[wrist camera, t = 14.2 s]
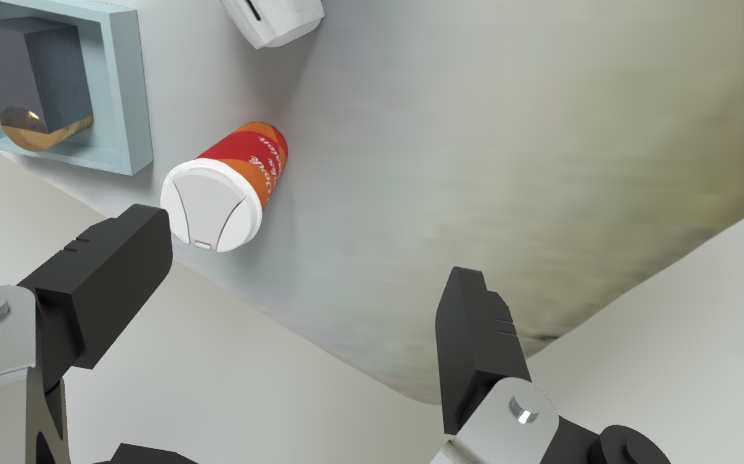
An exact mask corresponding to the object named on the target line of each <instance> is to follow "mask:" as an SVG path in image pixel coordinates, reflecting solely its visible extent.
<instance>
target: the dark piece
mask: <svg viewBox="0 0 744 464" xmlns="http://www.w3.org/2000/svg"><path fill="white" fill-rule="evenodd" d="M93 121H94V114H93V109H92V104H91V98H90V93H89V87H88V82H87V77H86V71H85V66H84V60H83V55H82V49H81V44H80V39H79V33H78V28H77V26H76V25H71V24H67V23H62V22H57V21H52V20H47V19H43V18H38V17H33V16H27V17H17V18H8V19H0V123H1V126H2V128H3V130H4V132H5V134H6V135H7V136H8V138H9V139H10V140H11V141H12V142H14V143H15V144H16V145H17V146H19V147H21V148H23V149H25V150H27V151H31V152H40V151H43V150H45V149H47V148H49V147H51V146H53V145H55V144H57V143H59V142H61V141H63V140H66V139H68V138H70V137H72V136H74V135H76V134H78V133H80V132H82V131H84V130H87V129H89V128H90V127H91V126H92V124H93Z"/></svg>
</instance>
